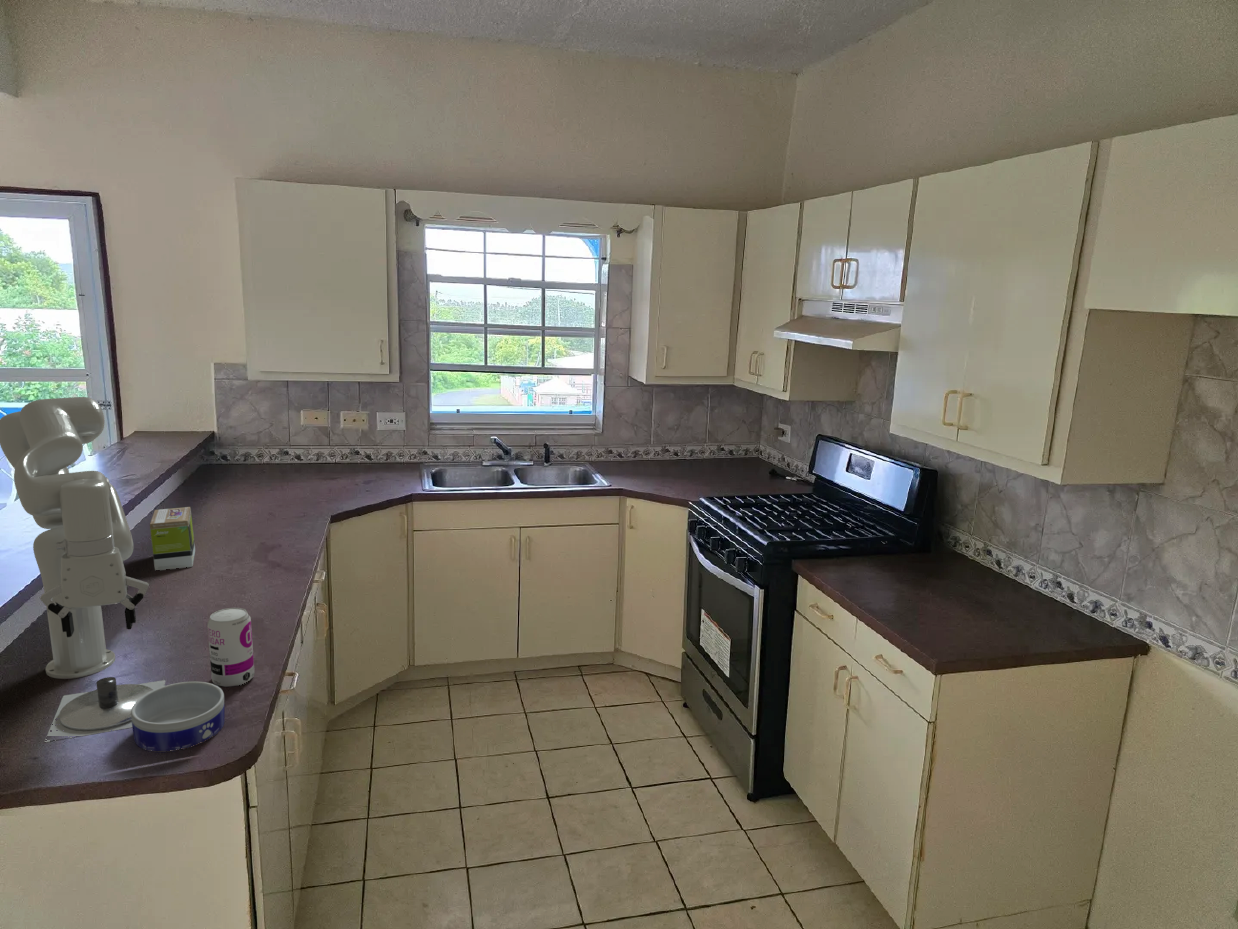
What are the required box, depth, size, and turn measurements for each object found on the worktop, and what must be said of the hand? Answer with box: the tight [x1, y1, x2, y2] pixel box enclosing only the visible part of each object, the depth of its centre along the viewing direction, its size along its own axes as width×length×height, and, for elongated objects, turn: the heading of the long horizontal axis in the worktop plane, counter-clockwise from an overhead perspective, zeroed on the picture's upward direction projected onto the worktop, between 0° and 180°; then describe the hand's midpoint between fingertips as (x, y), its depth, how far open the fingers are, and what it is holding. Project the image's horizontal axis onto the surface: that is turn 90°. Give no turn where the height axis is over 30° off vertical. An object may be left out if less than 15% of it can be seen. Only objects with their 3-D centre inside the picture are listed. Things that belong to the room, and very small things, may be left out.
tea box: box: [149, 506, 196, 571], centre depth 235 cm, size 15×10×15 cm
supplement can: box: [206, 607, 255, 687], centre depth 168 cm, size 8×8×15 cm
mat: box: [44, 679, 166, 743], centre depth 156 cm, size 18×18×1 cm
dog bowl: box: [131, 680, 226, 751], centre depth 149 cm, size 15×15×6 cm
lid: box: [59, 676, 153, 731], centre depth 155 cm, size 16×16×6 cm
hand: (100, 630), depth 152 cm, fingers open, 9 cm apart
